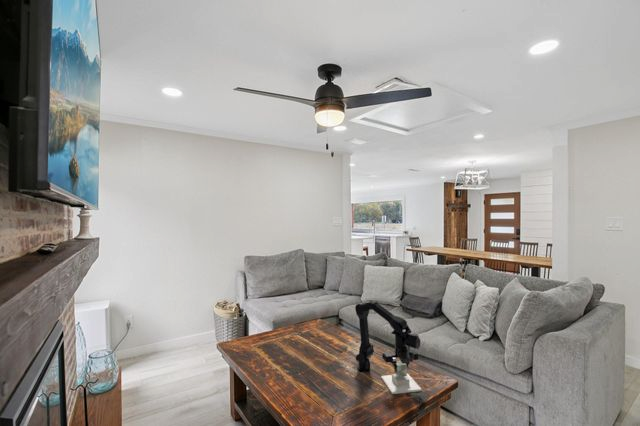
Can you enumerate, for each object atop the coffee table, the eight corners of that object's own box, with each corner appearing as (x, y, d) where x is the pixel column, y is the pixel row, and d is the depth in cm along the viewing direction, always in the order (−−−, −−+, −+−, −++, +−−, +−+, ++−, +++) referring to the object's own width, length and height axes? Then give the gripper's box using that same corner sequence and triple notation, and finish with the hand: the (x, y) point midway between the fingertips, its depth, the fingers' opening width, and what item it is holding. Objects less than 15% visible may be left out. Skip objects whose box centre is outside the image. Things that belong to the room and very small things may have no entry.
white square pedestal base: (392, 394, 162) (392, 386, 162) (381, 377, 178) (381, 370, 178) (421, 390, 165) (421, 383, 165) (407, 375, 181) (407, 368, 181)
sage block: (398, 376, 168) (397, 365, 168) (394, 372, 173) (394, 361, 173) (406, 376, 169) (406, 364, 169) (402, 371, 174) (402, 360, 174)
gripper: (389, 351, 162) (389, 381, 162) (423, 348, 165) (423, 378, 165) (381, 342, 173) (382, 370, 173) (413, 339, 176) (413, 367, 176)
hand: (400, 371), depth 171 cm, fingers closed on sage block, 5 cm apart
